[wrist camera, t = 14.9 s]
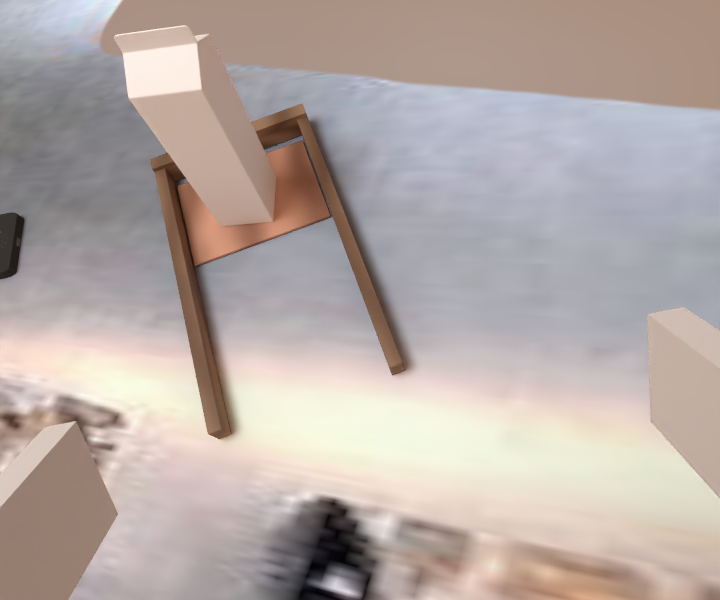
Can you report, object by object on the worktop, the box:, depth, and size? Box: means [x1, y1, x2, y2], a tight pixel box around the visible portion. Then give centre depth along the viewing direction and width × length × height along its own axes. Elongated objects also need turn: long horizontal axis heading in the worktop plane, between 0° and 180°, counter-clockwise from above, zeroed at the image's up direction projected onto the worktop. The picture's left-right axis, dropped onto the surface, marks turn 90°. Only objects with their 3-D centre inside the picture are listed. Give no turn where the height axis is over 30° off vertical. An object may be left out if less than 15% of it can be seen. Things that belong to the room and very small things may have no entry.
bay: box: [150, 104, 404, 439], centre depth 55 cm, size 18×32×3 cm, turn 19°
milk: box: [114, 25, 276, 226], centre depth 50 cm, size 6×6×22 cm
